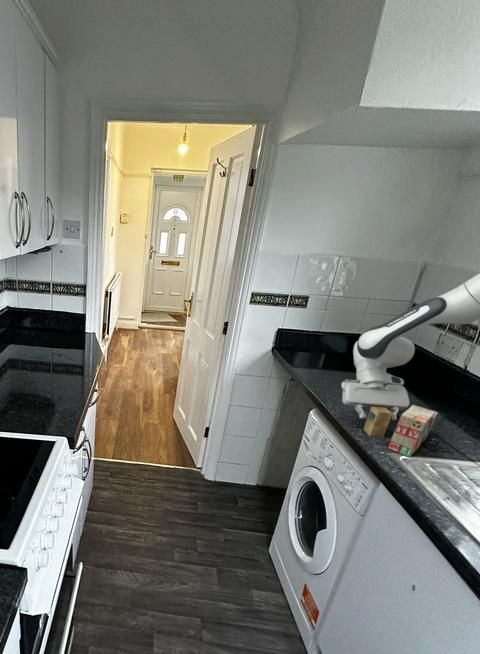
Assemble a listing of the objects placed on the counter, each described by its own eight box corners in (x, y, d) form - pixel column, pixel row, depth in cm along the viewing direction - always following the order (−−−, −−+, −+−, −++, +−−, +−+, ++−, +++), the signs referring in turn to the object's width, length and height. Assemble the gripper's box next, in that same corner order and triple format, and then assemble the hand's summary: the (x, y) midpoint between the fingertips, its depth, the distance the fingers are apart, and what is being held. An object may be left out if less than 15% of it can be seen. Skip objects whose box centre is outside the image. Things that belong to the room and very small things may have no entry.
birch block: (376, 431, 141) (385, 407, 138) (383, 437, 137) (392, 413, 134) (362, 430, 142) (371, 406, 138) (369, 436, 137) (378, 412, 134)
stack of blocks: (406, 429, 143) (420, 397, 138) (427, 437, 139) (443, 404, 134) (386, 448, 130) (401, 414, 125) (409, 457, 126) (426, 422, 120)
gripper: (345, 375, 140) (351, 413, 135) (408, 380, 139) (416, 418, 134) (336, 382, 146) (340, 419, 141) (396, 387, 145) (403, 424, 140)
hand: (378, 419), depth 137 cm, fingers open, 8 cm apart
